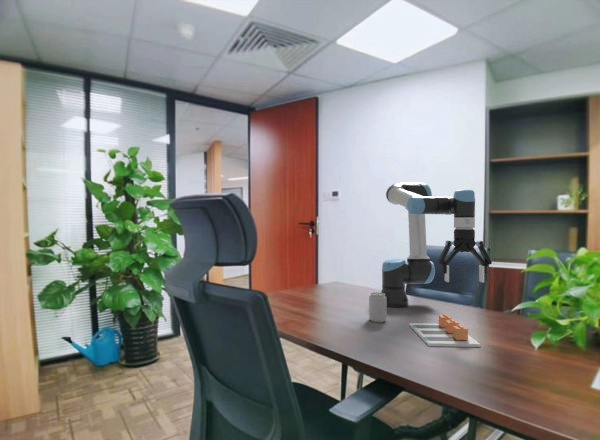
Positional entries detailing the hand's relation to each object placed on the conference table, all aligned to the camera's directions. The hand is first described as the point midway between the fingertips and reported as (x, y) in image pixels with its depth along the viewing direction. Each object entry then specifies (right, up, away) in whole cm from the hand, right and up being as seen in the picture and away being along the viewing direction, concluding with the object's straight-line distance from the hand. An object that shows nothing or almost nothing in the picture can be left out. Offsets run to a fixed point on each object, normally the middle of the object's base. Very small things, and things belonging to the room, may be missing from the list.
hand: (464, 281), depth 134 cm
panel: (-11, -20, -5) cm, 23 cm away
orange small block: (-7, -18, +2) cm, 20 cm away
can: (-31, -20, +14) cm, 40 cm away
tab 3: (-7, -18, -12) cm, 23 cm away
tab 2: (-7, -18, -5) cm, 20 cm away
